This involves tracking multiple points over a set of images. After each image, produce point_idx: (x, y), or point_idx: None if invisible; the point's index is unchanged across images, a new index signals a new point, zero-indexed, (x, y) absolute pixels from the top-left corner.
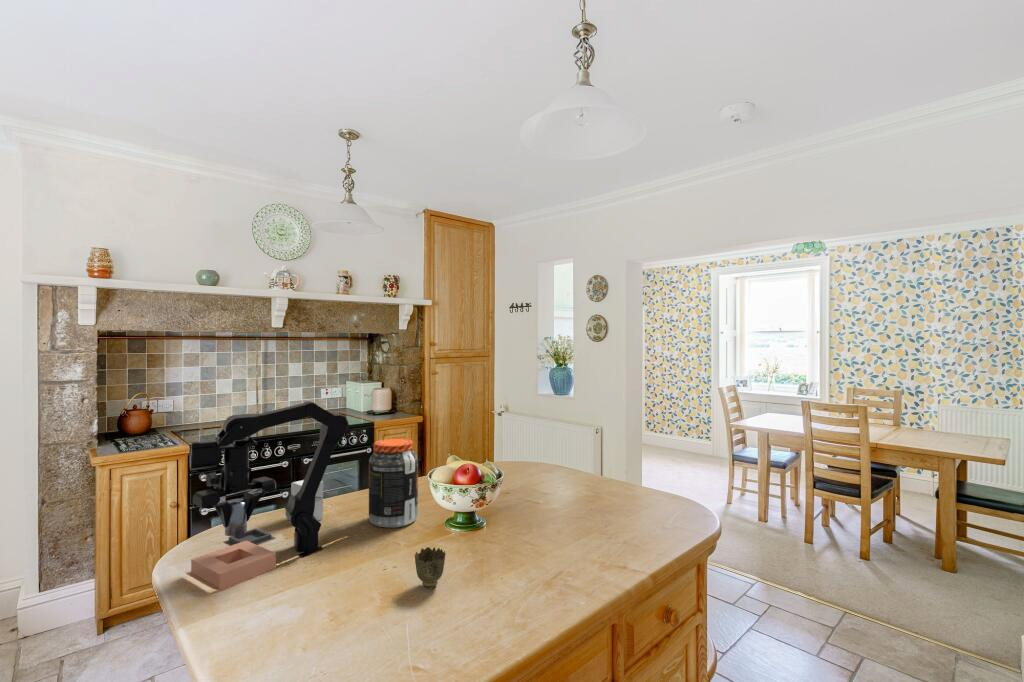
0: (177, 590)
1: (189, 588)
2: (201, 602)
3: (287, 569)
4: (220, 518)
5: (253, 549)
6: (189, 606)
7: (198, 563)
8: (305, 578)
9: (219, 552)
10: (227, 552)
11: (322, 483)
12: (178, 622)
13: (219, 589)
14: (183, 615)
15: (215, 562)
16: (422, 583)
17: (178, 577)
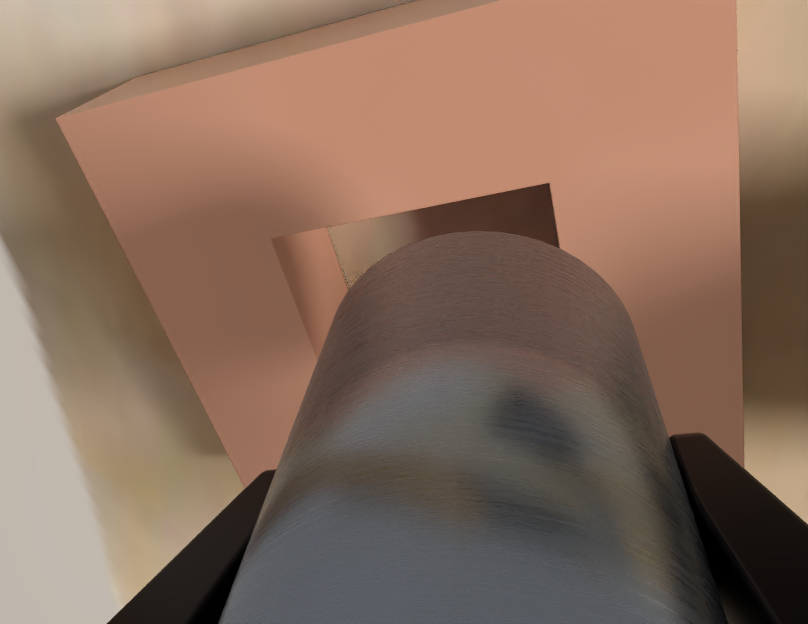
0: (66, 280)
1: (137, 304)
2: (204, 498)
3: (754, 470)
4: (146, 596)
5: (645, 308)
6: (149, 496)
7: (132, 260)
8: None
9: (333, 138)
10: (406, 197)
11: None
12: (112, 580)
13: None
14: (127, 547)
15: (267, 350)
16: None
17: (40, 47)
